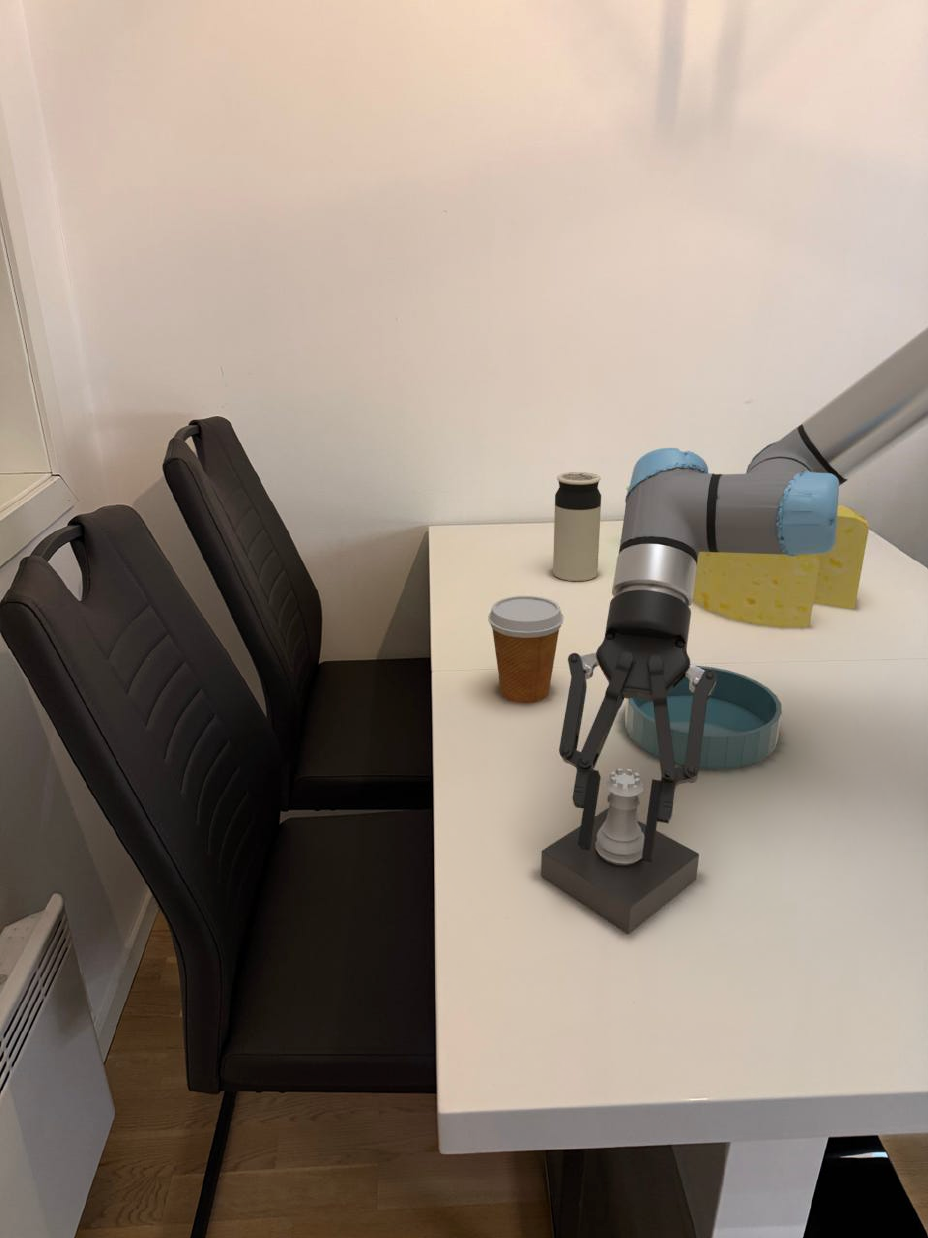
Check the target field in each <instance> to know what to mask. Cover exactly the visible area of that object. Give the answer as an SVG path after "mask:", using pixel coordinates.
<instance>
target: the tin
mask: <svg viewBox="0 0 928 1238" xmlns="http://www.w3.org/2000/svg"><path fill="white" fill-rule="evenodd" d="M695 666H696V667H698V668H700V669H702V670H707V669H712V670H714V671H715V672H716V673H717V681H716V686H715V689H714V690H713V692H712V694H711V696H710V698H709V700H708V701H707V706H706V714H705V723H704V731H703V740H702V748H701V757H700V765H699V769H702V770H732V769H740V768H745V767H749V766H752V765H755V764H758V763H760V762H762V761H764V760H766V758H768V757H770V755H772V754H773V752H774V751H775V750H776V747H777V744H778V742H779V736H780V735H779V734H780V729H781V723H782V715H783V708H782V707H783V706H782V702H781V701H780V699H779V697H778V696H777V694H775V692H773V690H771V688H769V687H768V686H766V685H764V684H763V683H761V682H759V681H757V680H756V679H753V678H752V677H749V676H747V675H745V674H741V673H738V672H735V671H732V670H728V669H724V668H718V667H712V666H706V665H705V666H704V665H695ZM689 682H690V681H689V679H688V677H686V676H685V677H684V678H683V679H682V680H681V681H680V682H679V683H678V684H677V685H676V686H675V687H674V688H673V689H672V690H671V691H670V692H669V693H668V694H667V695H666V696H667V705H668V713H669V721H670V729H671V737H672V745H673V753H674V761H675V765H679V766H684V765H685V757H686V749H687V741H688V733H689V725H690V717H691V709H692V701H693V695H694V693H693V692H691V690H690V689H689ZM624 727H625V731H626V733H627V735H628V736H629V738H630V739H631V740H632V742H634V743H635V744H636V745H637V746H638V747H639V748H641V749H642V750H643V751H645V752H647V753H649V754H650V755H652V756H654V757H656V758H658V759H660V758H659V750H658V741H657V732H656V724H655V715H654V707H653V702H652V701H646V700H643V699H641V698H630V699H629V698H625V711H624Z"/></svg>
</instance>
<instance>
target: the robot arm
mask: <svg viewBox="0 0 928 1238" xmlns="http://www.w3.org/2000/svg"><path fill="white" fill-rule="evenodd" d="M927 425H928V326H927V327H926V328H924V329H923V330H922V331H920V332H919V333H918V334H916V335H915V336H914V337H913V338H911V339H910V340H908V341H907V342H906V343H905V344H903V345H902V346H901V347H899V348H898V349H897V350H896V351H894V352H893V353H892V354H891V355H889V356H887V357H886V358H885V359H884V360H882V361H881V362H880V363H878V364H877V365H876V366H875V367H873V368H872V369H871V370H869V371H868V372H867V373H866V374H864V375H863V376H862V377H860V378H858V379H857V380H856V381H855V382H854V383H852V384H851V385H849V387H847V388H846V389H844V390H843V391H842V392H840V393H839V394H838V395H836V396H835V397H834V398H832V400H830V401H828V402H827V403H826V404H825V405H824V406H822V407H821V408H819V409H818V410H817V411H816V412H814V413H813V414H812V415H810V416H809V417H808V418H806V419H805V420H804V421H803V422H802V423H801V424H800V425H798V426H797V427H795V428H794V429H793V430H791V431H789V433H787V434H786V435H784V436H783V437H782V438H780V439H779V440H777V441H774V442H772V443H769V444H767V445H766V446H765V447H763V448H762V449H760V451H758V453H756V454H755V455H754V456H753V457H752V459H751V461H750V463H749V464H748V465H747V469H746V472H745V473H727V474H726V473H724V474H723V473H714V472H713V473H711V472H710V473H709V467H708V464H707V463H706V461H705V459H704V458H703V457H701V456H700V455H699V454H697V453H695V452H694V451H691V450H685V451H683V450H682V451H681V450H680V449H679V448H677V447H661V448H657V449H653V450H650V451H648V452H647V453H645V454H643V455H642V456H641V457H640V458H639V459H638V460H637V461H636V463H635V464H634V466H633V469H632V474H631V479H630V482H629V486H630V487H629V491H627V492H626V495H625V499H624V501H625V502H624V503H625V507H624V514H623V520H622V521H623V522H622V528H621V535H620V544H619V549H618V555H617V557H616V562H615V570H614V575H613V582H612V588H611V595H612V598H611V599H610V601H609V606H608V614H607V620H606V626H605V632H604V638H603V641H602V642H601V644H600V645H599V646H598V647H597V649H596V652H593V653H588V654H583V655H580V654H579V653H577V652H572V653H570V654H569V655H568V657H567V663H568V668H569V673H570V683H569V689H568V695H567V700H566V707H565V713H564V718H563V724H562V730H561V736H560V741H559V747H558V753H559V755H560V757H561V759H562V761H563V762H564V763H565V764H568V765H571V766H572V767H574V768H575V769H576V774H575V781H574V786H573V792H572V802H573V806H574V807H575V808H577V809H582V814H581V821H580V826H581V827H580V833H579V839H578V846H579V847H580V848H581V849H584V850H589V851H590V845H591V838H592V832H593V825H594V819H595V816H596V813H597V805H598V800H599V799H598V798H599V791H600V787H601V786H600V785H601V778H602V777H601V774H600V772H599V770H597V769H595V767H596V765H597V763H598V761H599V758H600V756H601V753H602V751H603V748H604V746H605V744H606V741H607V739H608V737H609V734H610V732H611V729H612V727H613V725H614V722H615V720H616V718H617V715H618V712H619V710H620V709H621V707H622V706H623V703H624V701H625V699H626V698H629V699H630V698H641V699H643V700H646V701H652V702H653V707H654V715H655V724H656V732H657V741H658V750H659V758H658V759H659V766H660V774H661V778H660V779H656V778H655V779H654V778H651V785H650V793H649V800H648V807H647V815H646V822H645V825H646V829H645V837H644V845H643V852H642V858H643V861H648V862H652V859H653V851H654V844H655V836H656V831H657V827H658V823H665V824H669V823H670V822H671V820H672V817H673V809H674V801H675V794H676V793H675V792H676V789H677V787H678V786H680V785H683V784H687V783H689V784H694V783H696V782H697V781H698V778H699V774H700V768H699V765H700V757H701V748H702V740H703V731H704V723H705V714H706V706H707V701H708V700H709V698H710V696H711V694H712V692H713V690H714V689H715V686H716V681H717V673H716V672H715V671H714V670H712V669H707V670H702V669H700V668H698V667H696V666H697V665H694V664H692V663H691V659H690V657H689V654H688V651H687V650H688V642H689V634H690V626H691V617H692V610H691V608H690V606H691V605H692V604H693V602H694V600H693V593H694V586H695V578H696V570H697V561H698V555H699V552H716V553H719V552H721V553H750V554H779V555H788V556H798V555H809V554H825V553H827V552H829V551H831V550H832V549H833V547H834V546H835V542H836V528H837V512H838V504H839V495H840V494H839V493H840V486H842V485H843V484H845V482H847V481H848V480H850V479H851V478H852V477H853V476H856V474H858V473H860V472H861V471H863V470H864V469H865V468H867V467H868V466H870V465H871V464H872V463H874V462H875V461H877V460H878V459H880V458H881V457H883V456H884V455H886V454H887V453H889V452H890V451H891V450H893V449H894V448H896V447H897V446H898V445H900V444H901V443H903V442H904V441H906V440H907V439H909V438H910V437H911V436H913V435H914V434H915V433H918V431H920V430H922V429H923V428H925V427H926V426H927ZM597 667H599V668H600V670H601V671H602V673H603V676H605V678H606V680H607V682H608V685H607V687H606V690H605V694H604V697H603V699H602V702H601V704H600V705H599V706H600V707H599V709H598V711H597V714H596V716H595V718H594V721H593V722H592V725H591V727H590V730H589V732H588V735H587V737H586V739H585V742H584V744H583V746H582V749H581V751H579V750H578V745H579V740H580V739H579V738H580V732H581V727H582V726H581V725H582V720H583V714H584V708H585V703H586V702H585V701H586V695H587V690H588V689H587V685H588V683H587V680H590V679H591V678H592V677H593V676H594V670H595V669H596V668H597ZM685 676H686V677H688V679H689V681H690V682H689V689H690V690H691V692H693V693H694V695H693V701H692V709H691V717H690V725H689V733H688V741H687V749H686V757H685V765H684V766H683V765H679V766H676V764H675V761H674V753H673V745H672V737H671V729H670V721H669V713H668V705H667V696H666V695H667V694H668V693H669V692H670V691H671V690H672V689H673V688H674V687H675V686H676V685H677V684H678V683H679V682H680V681H681V680H682V679H683V678H684V677H685Z"/></svg>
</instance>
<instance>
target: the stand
mask: <svg viewBox="0 0 928 1238" xmlns="http://www.w3.org/2000/svg"><path fill="white" fill-rule="evenodd" d="M608 810H609V807H607V808H606V809H604V810H603V811H601V812H600V813H598V814H597V815H596V814H595V819H594V825H593V832H592V838H591V845H590V851H589V850H584V849H581V848H580V847H579V846H578V839H579V833H580V827H581V825H579V826H577V827H576V828H575V829H573V830H572V831H570V832H568V833H567V834H565V835H564V836H562V837H561V838H559V839H557V840H556V841H554V842H553V843H551V844H550V845H548V846H547V847H545V848H543V849H542V850H541V851H540V852H541V853H540V854H541V855H540V856H541V857H540V877H541V878H543V879H544V880H545V881H547V882H549V883H550V884H552V885H553V886H554V887H556V888H558V889H559V890H561V891H562V892H563V893H565V894H567V895H568V896H570V897H571V898H573V899H574V900H576V901H577V902H578V903H580V904H581V905H583V906H585V907H586V908H587V909H589V910H590V911H592V912H593V913H595V914H596V915H598V916H600V917H601V918H602V919H604V920H606V921H607V922H608V923H610V924H611V925H613V926H615V928H617V929H619V930H620V931H622V932H623V933H625V934H626V935H630V934H631V933H632V932H634V931H635V930H636V929H637V928H638V927H640V926H641V925H642V924H643V923H645V922H646V921H647V920H648V919H650V918H651V917H652V916H654V915H655V914H656V913H657V912H658V911H659V910H661V909H662V908H663V907H665V906H666V905H667V904H668V903H669V902H671V901H672V900H673V899H675V897H677V896H678V895H679V894H681V893H682V892H683V891H685V889H687V888H688V887H690V886H691V885H692V884H693V883H694V882H696V881H697V878H698V869H699V859H700V854H699V853H698V852H696V851H694V850H693V849H691V848H690V847H688V846H685V845H683V844H682V843H680V842H678V841H676V840H675V839H674V838H671V837H669V836H668V835H666V834H664V833H662V832H660V831H658V830H656V836H655V844H654V851H653V859H652V862H648V861H643V858H641V859H640V860H639V861H637V862H635V863H634V864H630V865H616V864H613V863H610V862H608V861H606V860H605V859H603V858H602V857H601V856H600V854H599V853H598V851H597V850H596V841H597V833H598V831H599V829H600V828H601V826H602V825H603V823H604V822H605V821H606V819H607V814H608ZM637 821H638V825H639V826H640V828H641V831H642V833H643V834H644V837H645V829H646V823H644V822H641V820H640V821H639V820H638V819H637Z"/></svg>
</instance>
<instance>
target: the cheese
mask: <svg viewBox="0 0 928 1238" xmlns="http://www.w3.org/2000/svg"><path fill="white" fill-rule="evenodd" d="M869 531H870V526H869V522H868V520H867V519H866V518H865V516H863V515H862V514H860V513H858V512H857V511H855V510H854V509H852V508H850V507H847V506H845V505H842V504H839V503H838V512H837V528H836V542H835V546H834V547H833V549H832V550H831V551H829V552H827V553H825V554H809V555H798V556H788V555H779V554H750V553H721V552H719V553H716V552H699V555H698V561H697V570H696V578H695V586H694V593H693V602H694V603H696V604H697V605H699V606H700V607H702V608H703V609H705V610H706V611H707V612H708V611H709V612H710V613H712V614H715V615H718V616H721V617H724V618H727V619H728V620H734V621H737V622H738V621H739V622H742V623H745V624H746V623H747V624H751V625H757V626H766V627H775V628H810V626H811V618H812V613H813V605H814V604H815V605H822V606H829V607H835V608H843V609H848V610H854V611H855V609H856V605H857V604H856V603H857V597H858V592H859V587H860V581H861V575H862V570H863V564H864V559H865V554H866V547H867V541H868V538H869V537H868V536H869Z"/></svg>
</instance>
